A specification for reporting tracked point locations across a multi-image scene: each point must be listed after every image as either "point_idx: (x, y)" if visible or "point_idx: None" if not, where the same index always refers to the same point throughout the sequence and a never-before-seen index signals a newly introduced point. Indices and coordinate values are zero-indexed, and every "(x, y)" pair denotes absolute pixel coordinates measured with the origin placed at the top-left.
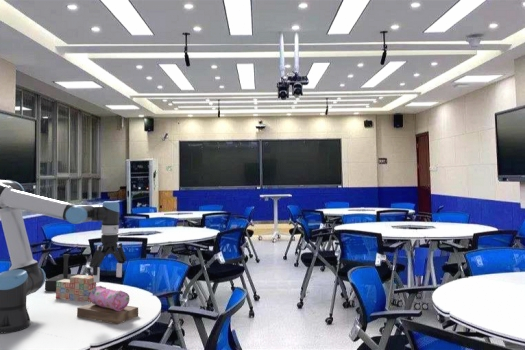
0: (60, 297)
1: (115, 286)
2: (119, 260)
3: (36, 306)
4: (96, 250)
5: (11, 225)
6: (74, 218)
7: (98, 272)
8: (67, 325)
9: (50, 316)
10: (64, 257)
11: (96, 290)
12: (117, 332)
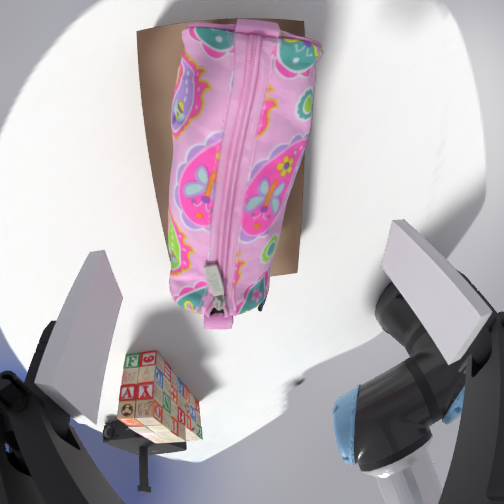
0: (194, 399)
1: None
2: (65, 446)
3: (268, 383)
4: None
5: None
6: None
7: (460, 278)
8: (374, 194)
9: (320, 307)
10: (149, 487)
11: (250, 287)
12: None
